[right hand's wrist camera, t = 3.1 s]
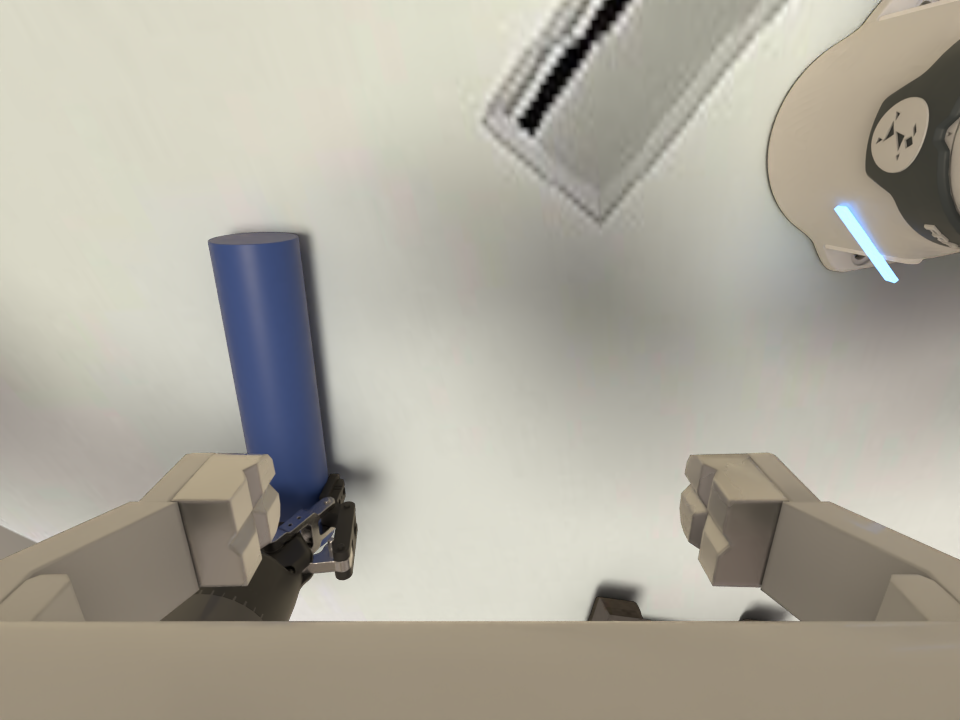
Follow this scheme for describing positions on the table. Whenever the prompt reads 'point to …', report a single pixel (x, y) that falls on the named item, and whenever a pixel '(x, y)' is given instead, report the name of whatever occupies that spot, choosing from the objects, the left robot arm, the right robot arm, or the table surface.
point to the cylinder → (273, 360)
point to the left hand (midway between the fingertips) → (299, 482)
